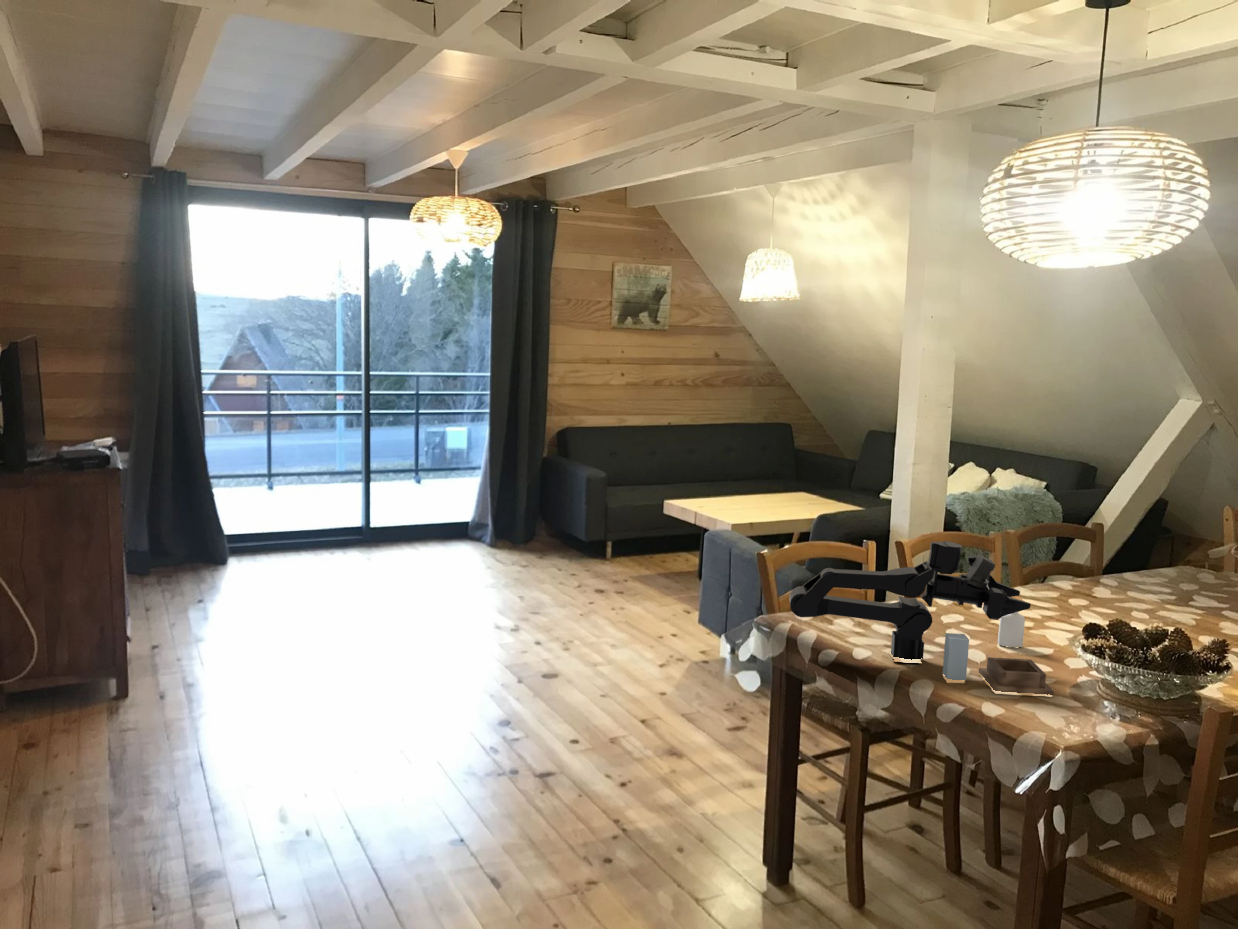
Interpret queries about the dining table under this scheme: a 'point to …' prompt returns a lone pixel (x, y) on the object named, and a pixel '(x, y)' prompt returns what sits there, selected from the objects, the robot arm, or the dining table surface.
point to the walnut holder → (1015, 676)
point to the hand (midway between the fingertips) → (1024, 599)
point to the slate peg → (955, 656)
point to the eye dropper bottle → (1011, 630)
